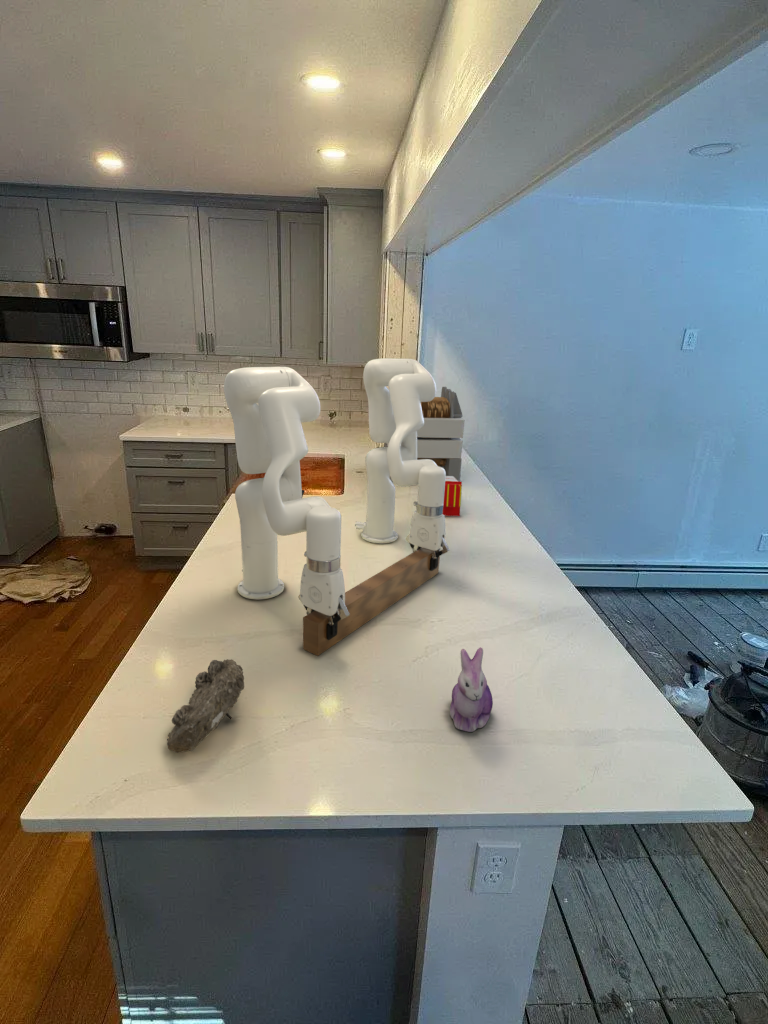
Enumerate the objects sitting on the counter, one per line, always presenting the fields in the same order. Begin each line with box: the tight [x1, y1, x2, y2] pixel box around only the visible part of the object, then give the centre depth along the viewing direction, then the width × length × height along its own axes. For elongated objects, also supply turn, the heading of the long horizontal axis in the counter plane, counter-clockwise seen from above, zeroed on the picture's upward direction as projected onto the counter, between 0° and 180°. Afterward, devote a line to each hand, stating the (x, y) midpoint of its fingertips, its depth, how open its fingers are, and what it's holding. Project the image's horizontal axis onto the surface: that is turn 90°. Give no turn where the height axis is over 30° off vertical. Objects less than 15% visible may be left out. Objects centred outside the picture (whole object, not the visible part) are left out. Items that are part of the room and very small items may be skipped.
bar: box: [302, 548, 441, 657], centre depth 150 cm, size 55×4×8 cm, turn 145°
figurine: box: [449, 647, 494, 733], centre depth 108 cm, size 9×10×15 cm
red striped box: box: [443, 476, 463, 517], centre depth 230 cm, size 12×13×30 cm
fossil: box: [166, 658, 245, 754], centre depth 106 cm, size 22×10×15 cm
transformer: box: [383, 386, 465, 483], centre depth 268 cm, size 34×33×41 cm
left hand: (323, 632), depth 132 cm, fingers closed on bar, 4 cm apart
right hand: (425, 566), depth 168 cm, fingers closed on bar, 4 cm apart
